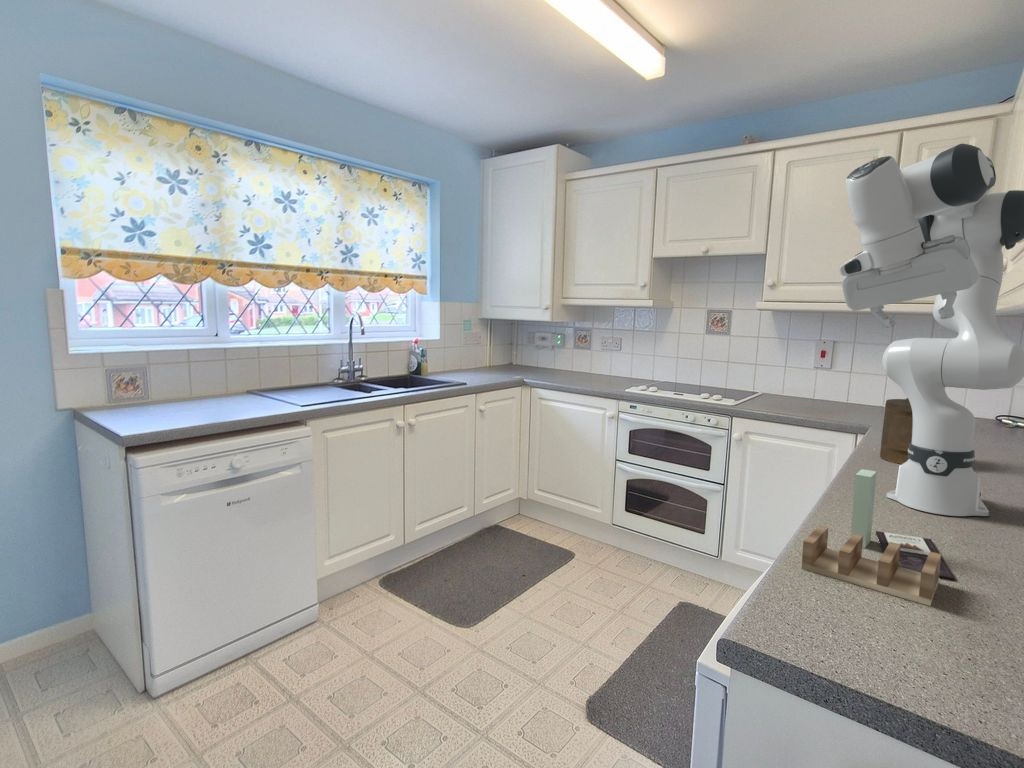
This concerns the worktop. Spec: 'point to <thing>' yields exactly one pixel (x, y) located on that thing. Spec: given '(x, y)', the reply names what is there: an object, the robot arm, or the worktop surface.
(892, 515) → the worktop surface
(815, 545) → the rack
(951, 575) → the chocolate bar
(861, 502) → the tall mint green block
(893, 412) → the wooden container
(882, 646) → the worktop surface
